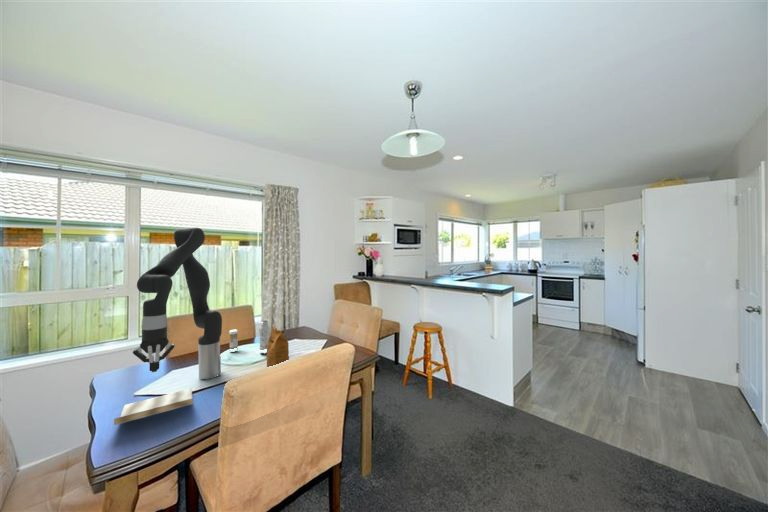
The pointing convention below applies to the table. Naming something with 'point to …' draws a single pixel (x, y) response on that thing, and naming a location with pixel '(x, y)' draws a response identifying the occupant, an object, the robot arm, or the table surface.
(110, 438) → the table surface
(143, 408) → the grey-washed plank
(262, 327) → the plastic bottle
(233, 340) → the sprinkles bottle
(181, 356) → the table surface
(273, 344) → the coffee package
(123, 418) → the honey oak plank
